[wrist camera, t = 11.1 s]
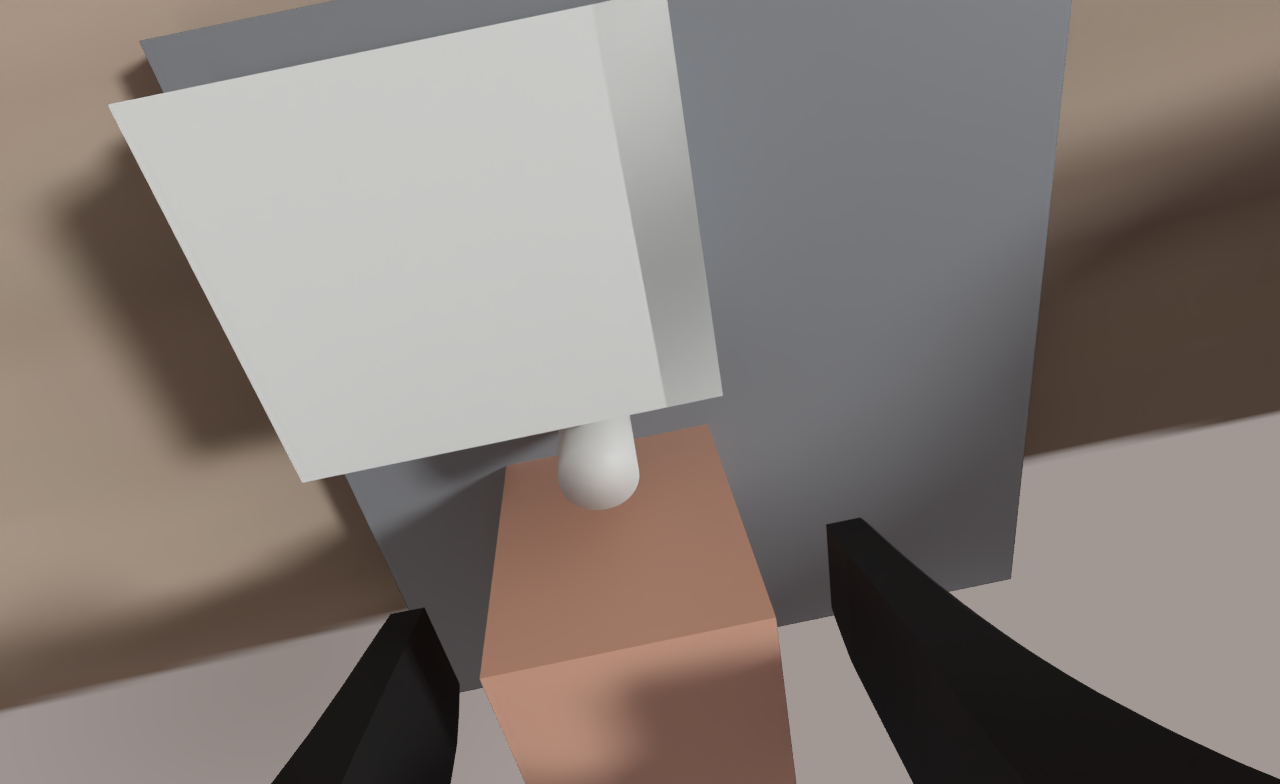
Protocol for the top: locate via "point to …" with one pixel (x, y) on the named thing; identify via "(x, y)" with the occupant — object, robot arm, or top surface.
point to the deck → (781, 282)
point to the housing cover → (446, 234)
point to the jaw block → (635, 630)
